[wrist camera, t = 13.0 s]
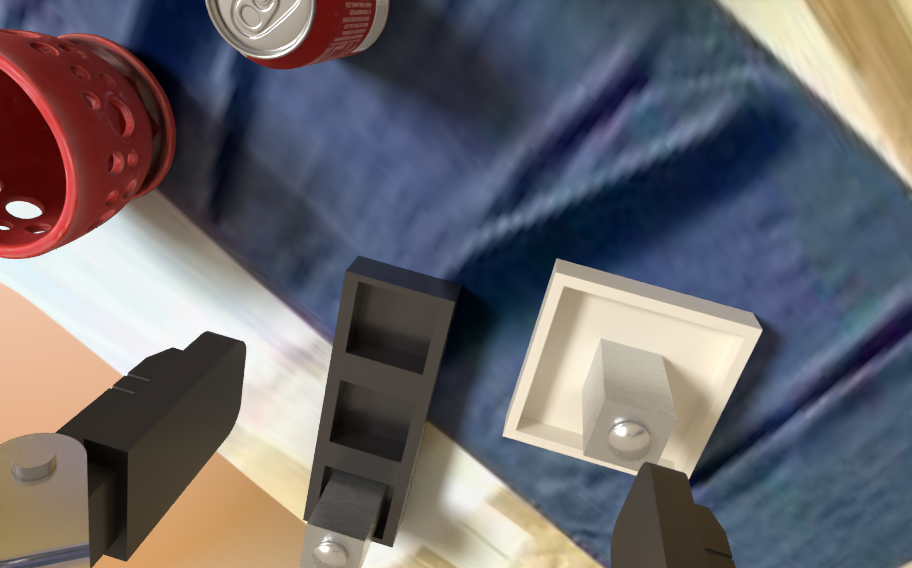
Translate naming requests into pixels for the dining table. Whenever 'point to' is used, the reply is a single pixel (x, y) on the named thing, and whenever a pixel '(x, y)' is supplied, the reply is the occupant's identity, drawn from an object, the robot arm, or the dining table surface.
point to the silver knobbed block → (626, 406)
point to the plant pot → (75, 136)
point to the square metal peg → (343, 522)
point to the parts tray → (637, 325)
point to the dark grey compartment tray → (382, 381)
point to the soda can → (298, 28)
